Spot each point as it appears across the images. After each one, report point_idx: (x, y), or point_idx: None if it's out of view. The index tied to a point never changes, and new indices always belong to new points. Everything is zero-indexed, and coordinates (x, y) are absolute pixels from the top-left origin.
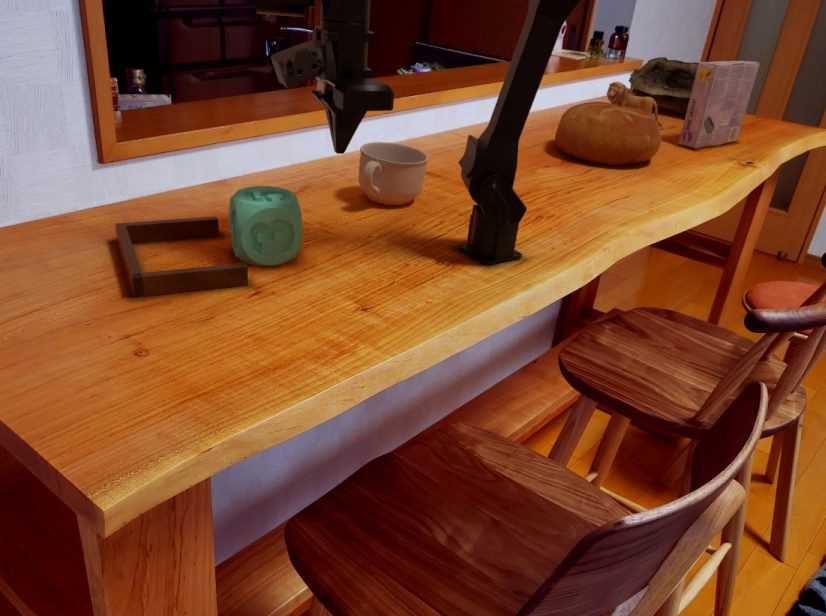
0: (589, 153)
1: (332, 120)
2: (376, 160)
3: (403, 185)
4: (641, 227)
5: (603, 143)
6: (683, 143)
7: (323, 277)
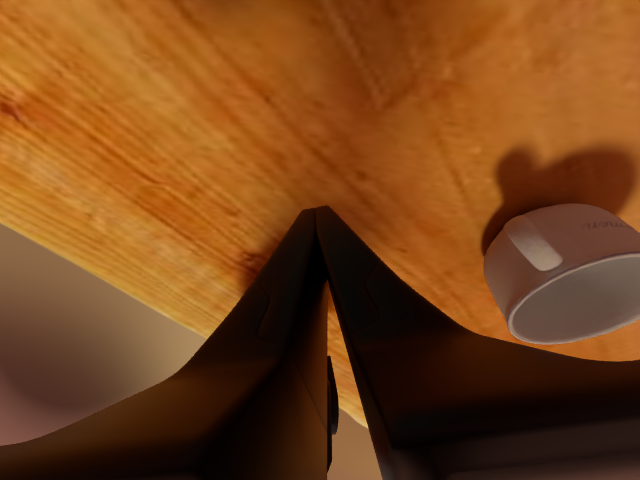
0: None
1: (283, 308)
2: (561, 270)
3: (492, 277)
4: (352, 415)
5: None
6: None
7: (138, 41)
